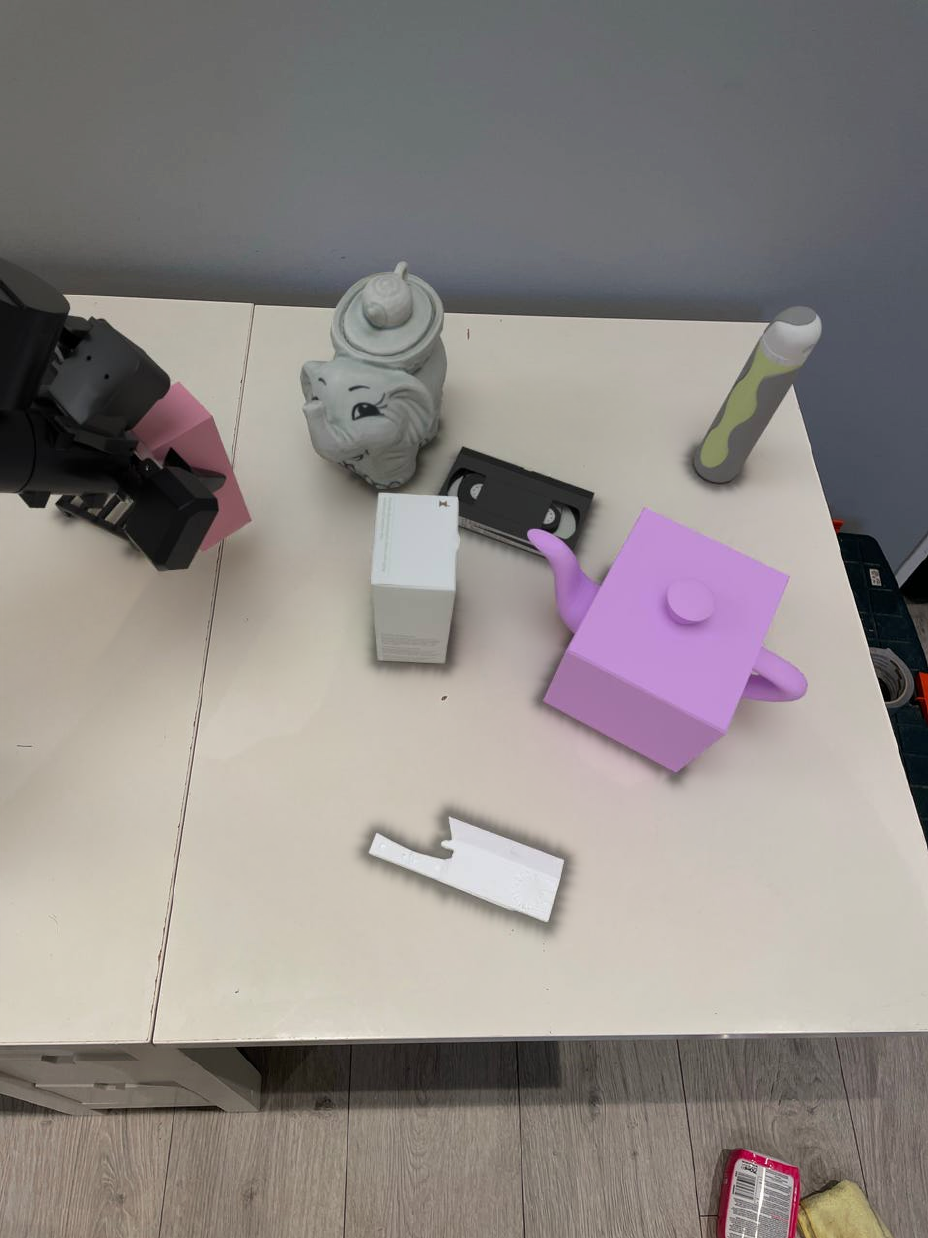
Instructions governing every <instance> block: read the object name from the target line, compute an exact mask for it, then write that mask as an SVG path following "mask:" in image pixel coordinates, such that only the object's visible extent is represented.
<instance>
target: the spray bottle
mask: <svg viewBox="0 0 928 1238" xmlns="http://www.w3.org/2000/svg"><path fill="white" fill-rule="evenodd" d="M822 327H823V326H822V320H821V317H820V316H819V315H818V314H817V313H816V311H815V310H814V309H813V308H811V307H808V306H804V305H795V306H791V307H789V308H787V309H785V310H783V311H781V312H779V313H778V314H776V315H775V317H774V318H773V319H772V320H771V321H770V322H769V324H768V325H767V326H766V327H765V329H764V330H763V333H762V335H761V336H760V337H759V338H758V341H756V344H755V346H754V348H753V349H752V351H751V353H750V355H749V357H748V358H747V360H746V362H745V364H744V365H743V367H742V369H741V370H740V373H739V375H738V376H737V378H736V379H735V381H734V383H733V385H732V386H731V388H730V391H729V392H728V394H727V396H726V397H725V399H724V401H723V403H722V404H721V406H720V408H719V410H718V411H717V414H716V416H715V417H714V419H713V420H712V423H711V424H710V426H709V428H708V430H707V431H706V433H705V435H704V437H703V439H702V441H701V442H700V444H699V446H698V448H697V449H696V451H695V453H694V456H693V465H694V469H695V470H696V472H697V474H698V475H700V476H701V478H703V479H705V480H707V481H708V482H711V483H717V484H718V483H719V484H723V483H727V482H729V481H732V480H733V479H734V478H735V477H737V476H738V474H739V472H740V471H741V469H742V468H743V466H744V464H745V463H746V461H747V459H748V458H749V456H750V454H751V452H752V451H753V450H754V447H756V445H757V443H758V442H759V440H760V438H761V436H762V435H763V433H764V432H765V430H766V428H767V426H768V425H769V423H770V422H771V420H772V418H773V417H774V415H775V413H776V412H777V410H778V409H779V407H780V405H781V404H782V402H783V400H784V399H785V397H786V395H787V394H788V392H789V391H790V389H791V387H793V385H794V383H795V381H796V379H797V377H798V376H799V374H800V373H801V371H802V369H803V368H804V366H805V362H806V360H807V359H808V357H809V356H810V354H811V353H812V352H813V349H814V348H815V346H816V344H817V343H818V342H819V340H820V338H821V334H822V331H823V329H822Z"/></svg>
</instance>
